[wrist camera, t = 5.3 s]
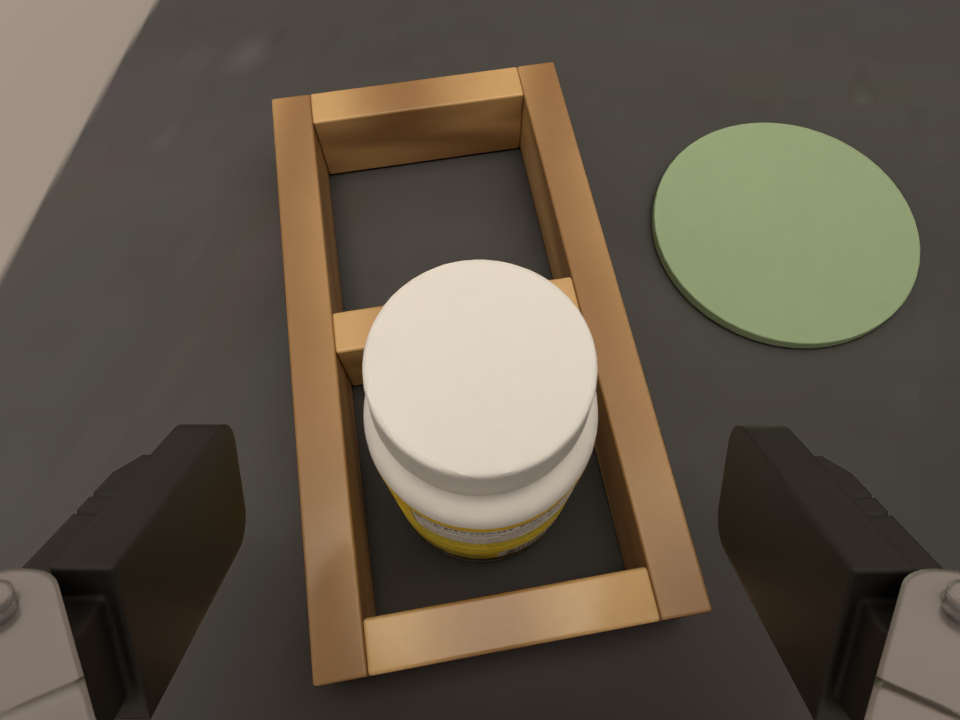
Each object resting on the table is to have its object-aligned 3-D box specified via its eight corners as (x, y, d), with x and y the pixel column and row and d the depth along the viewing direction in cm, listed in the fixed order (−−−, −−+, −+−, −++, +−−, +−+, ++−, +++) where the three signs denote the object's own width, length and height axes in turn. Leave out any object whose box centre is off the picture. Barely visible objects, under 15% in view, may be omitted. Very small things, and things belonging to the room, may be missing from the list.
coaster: (853, 115, 24) (859, 107, 24) (958, 325, 21) (967, 319, 21) (622, 148, 24) (625, 140, 23) (694, 369, 20) (698, 364, 20)
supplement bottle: (415, 384, 20) (375, 219, 12) (574, 409, 20) (634, 254, 12) (379, 549, 18) (305, 474, 11) (554, 579, 18) (610, 524, 10)
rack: (547, 117, 24) (553, 61, 22) (683, 616, 18) (713, 611, 15) (291, 152, 24) (270, 98, 21) (335, 682, 17) (312, 687, 15)
